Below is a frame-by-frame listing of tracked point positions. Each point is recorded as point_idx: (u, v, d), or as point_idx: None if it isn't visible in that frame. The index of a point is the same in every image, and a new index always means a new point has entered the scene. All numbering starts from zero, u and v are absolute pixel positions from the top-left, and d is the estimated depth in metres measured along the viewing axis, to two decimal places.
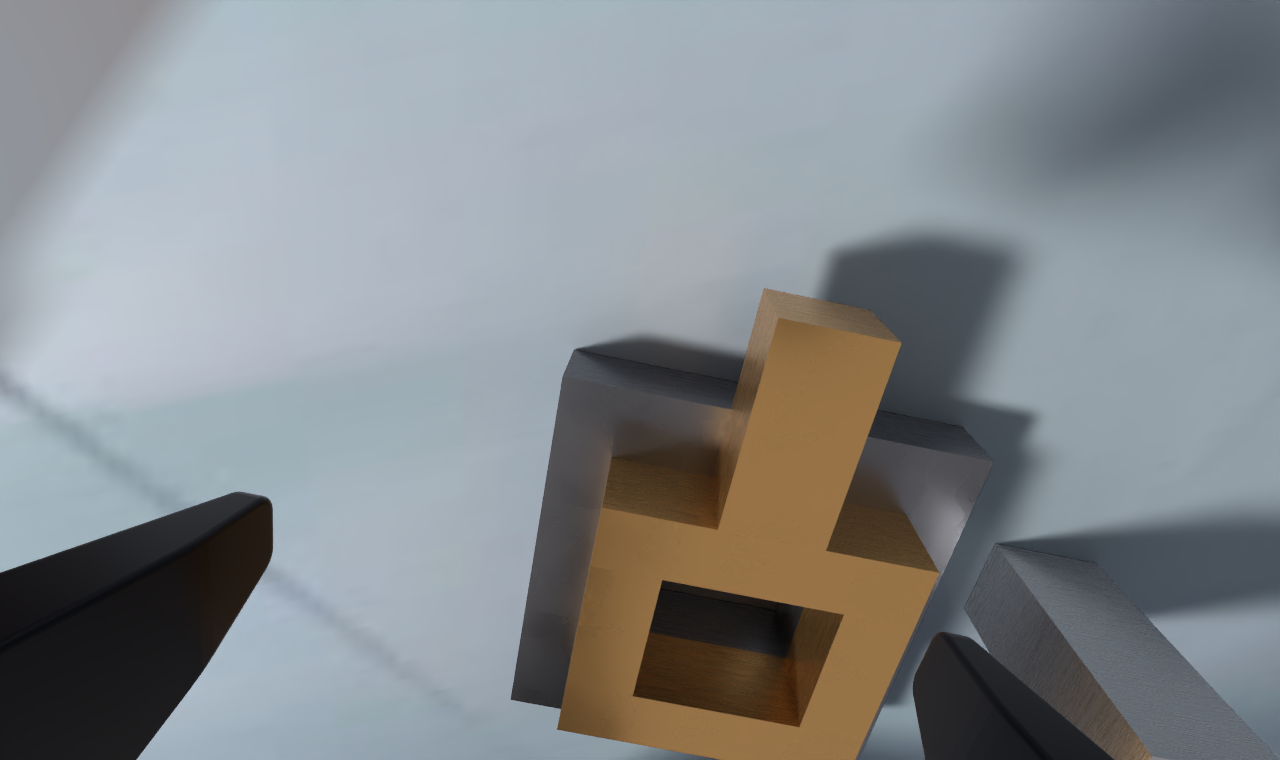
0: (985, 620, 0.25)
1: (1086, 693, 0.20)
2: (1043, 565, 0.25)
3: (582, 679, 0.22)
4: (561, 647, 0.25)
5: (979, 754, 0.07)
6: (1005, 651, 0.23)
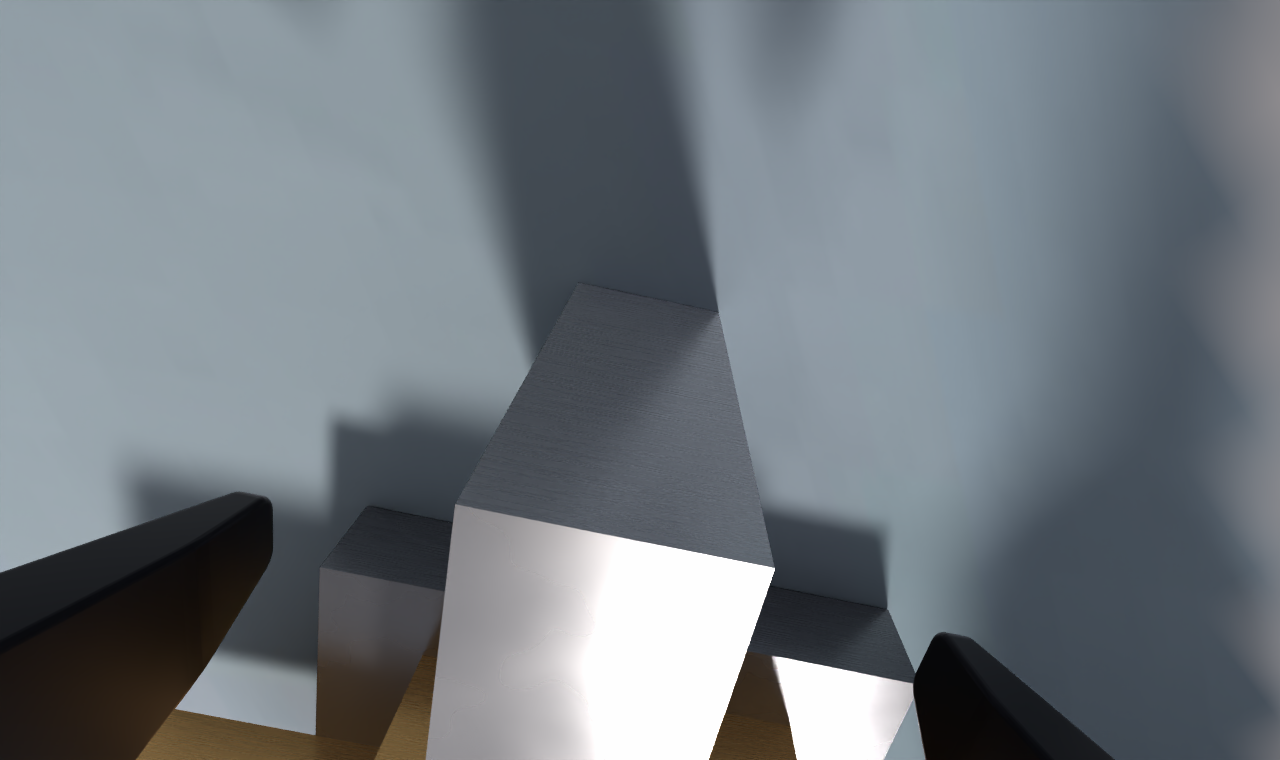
0: None
1: None
2: None
3: None
4: None
5: (979, 754, 0.07)
6: None
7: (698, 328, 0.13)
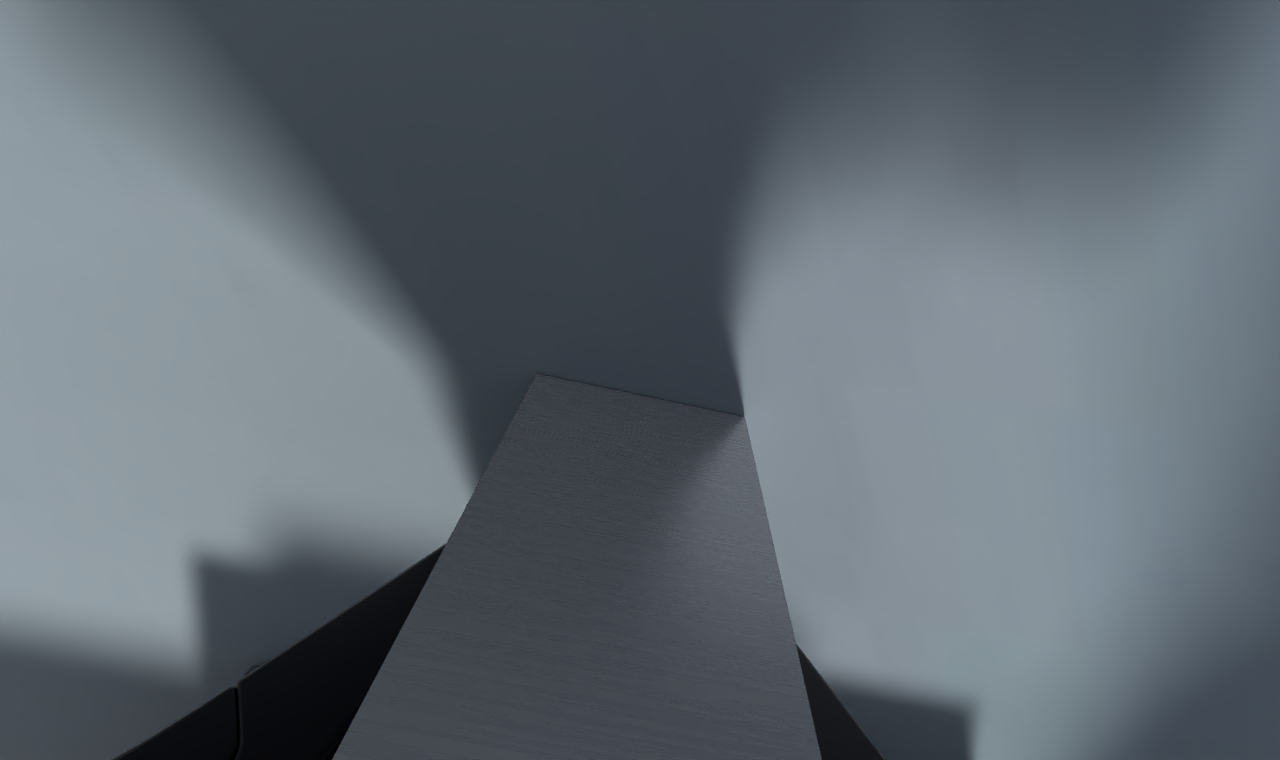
0: None
1: None
2: None
3: None
4: None
5: None
6: None
7: (716, 461, 0.09)
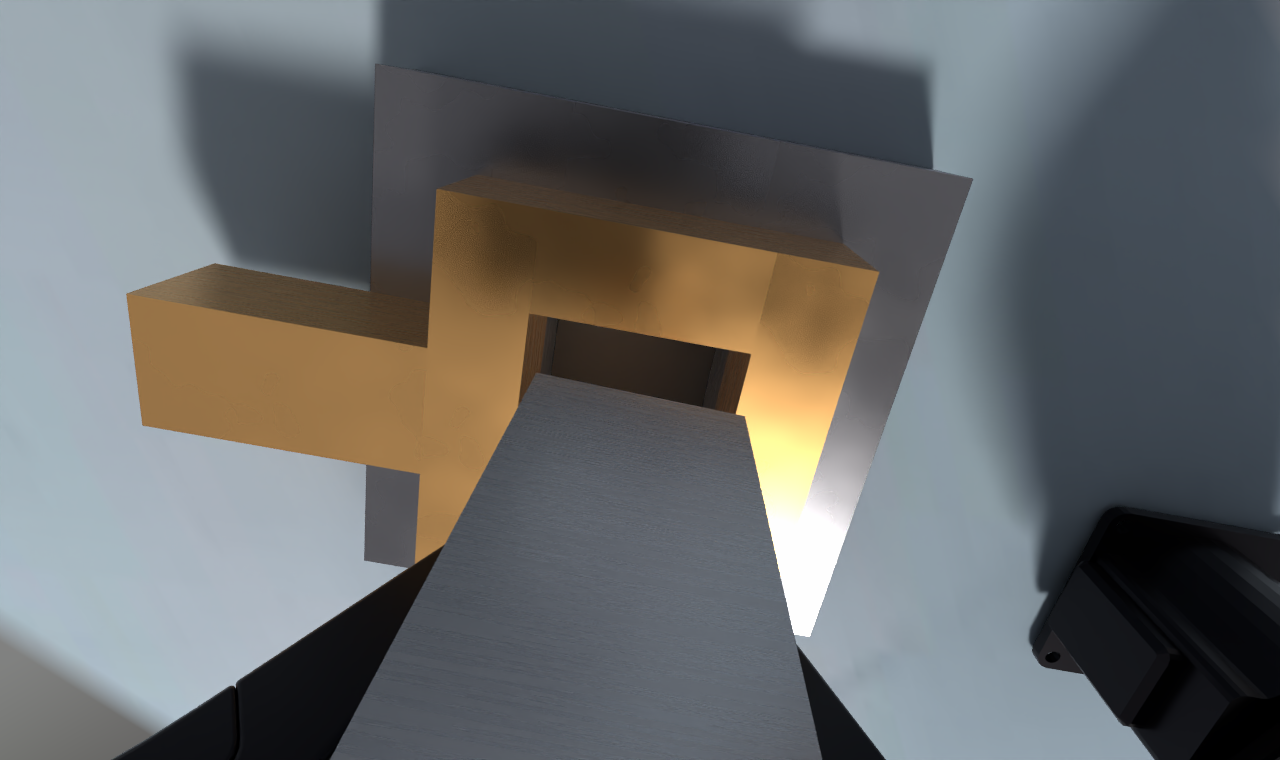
0: None
1: None
2: None
3: None
4: None
5: None
6: None
7: (717, 460, 0.09)
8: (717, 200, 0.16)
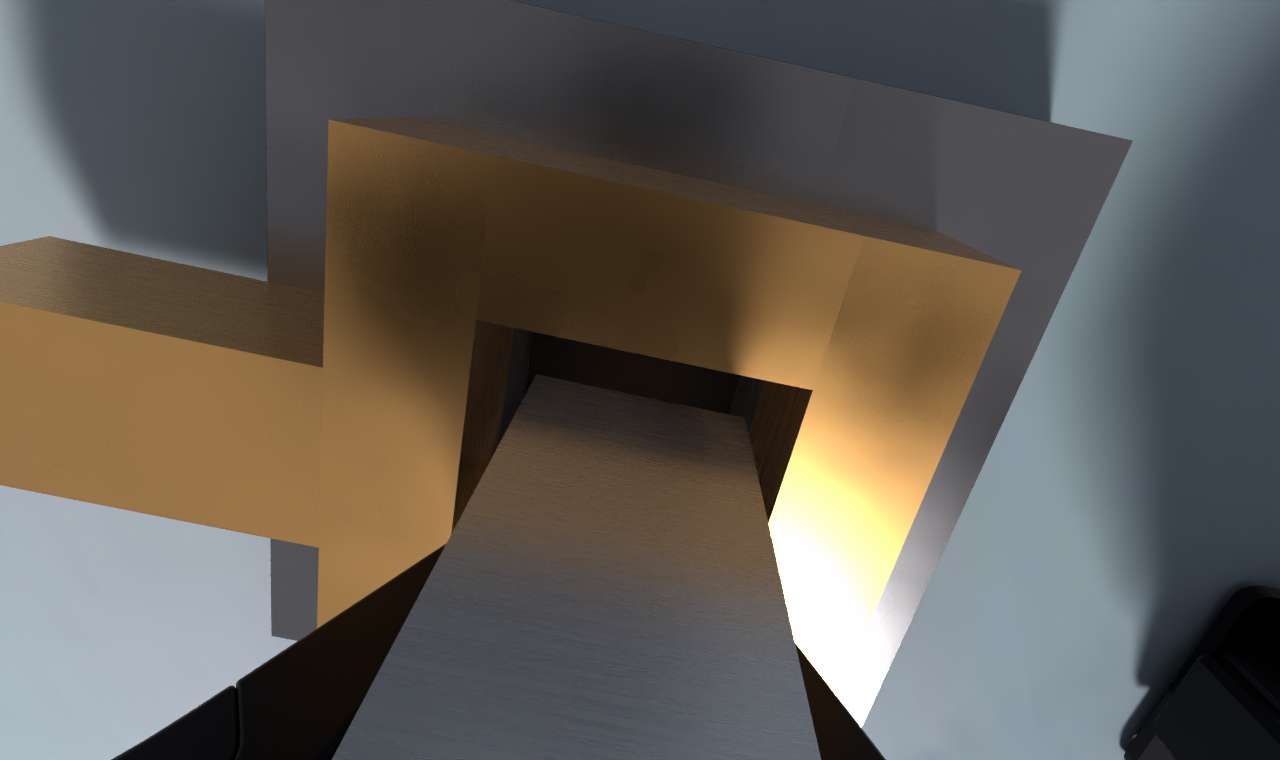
0: None
1: None
2: None
3: None
4: None
5: None
6: None
7: (716, 462, 0.09)
8: (759, 164, 0.11)
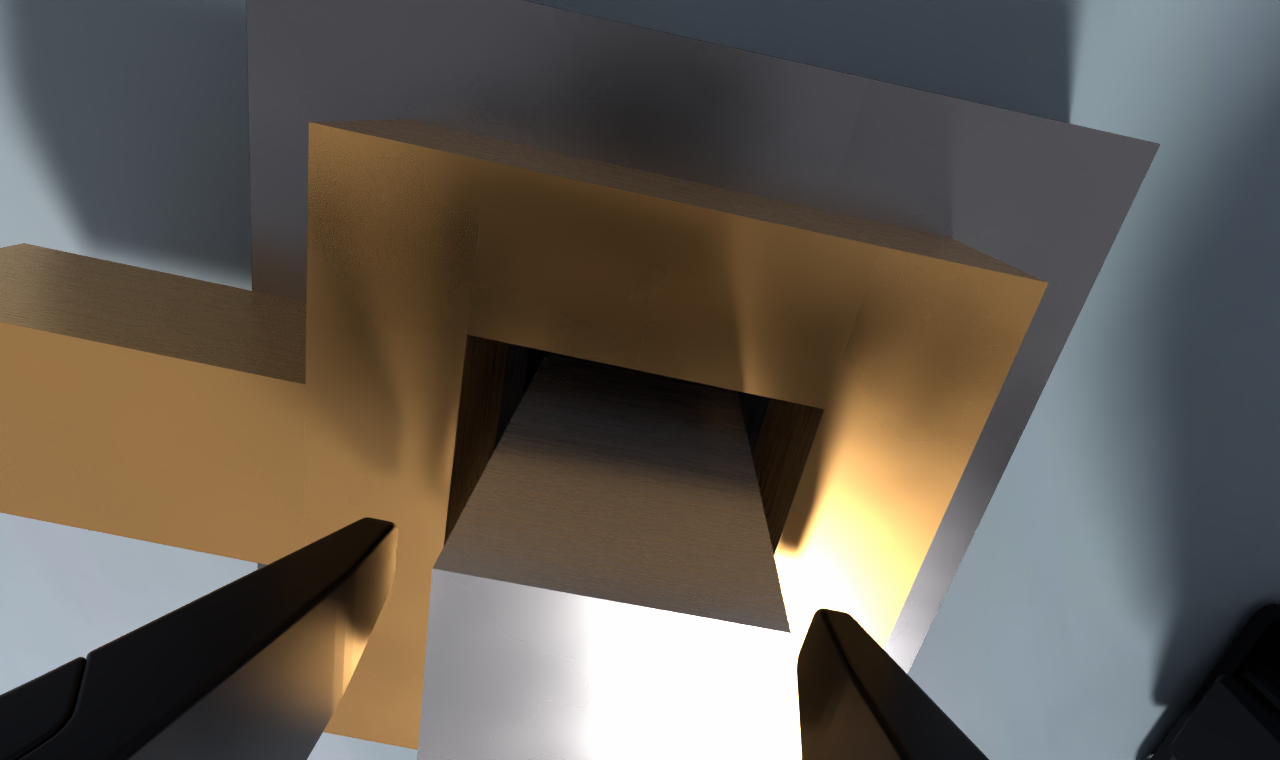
0: None
1: None
2: None
3: None
4: None
5: (836, 726, 0.07)
6: None
7: None
8: (767, 168, 0.11)
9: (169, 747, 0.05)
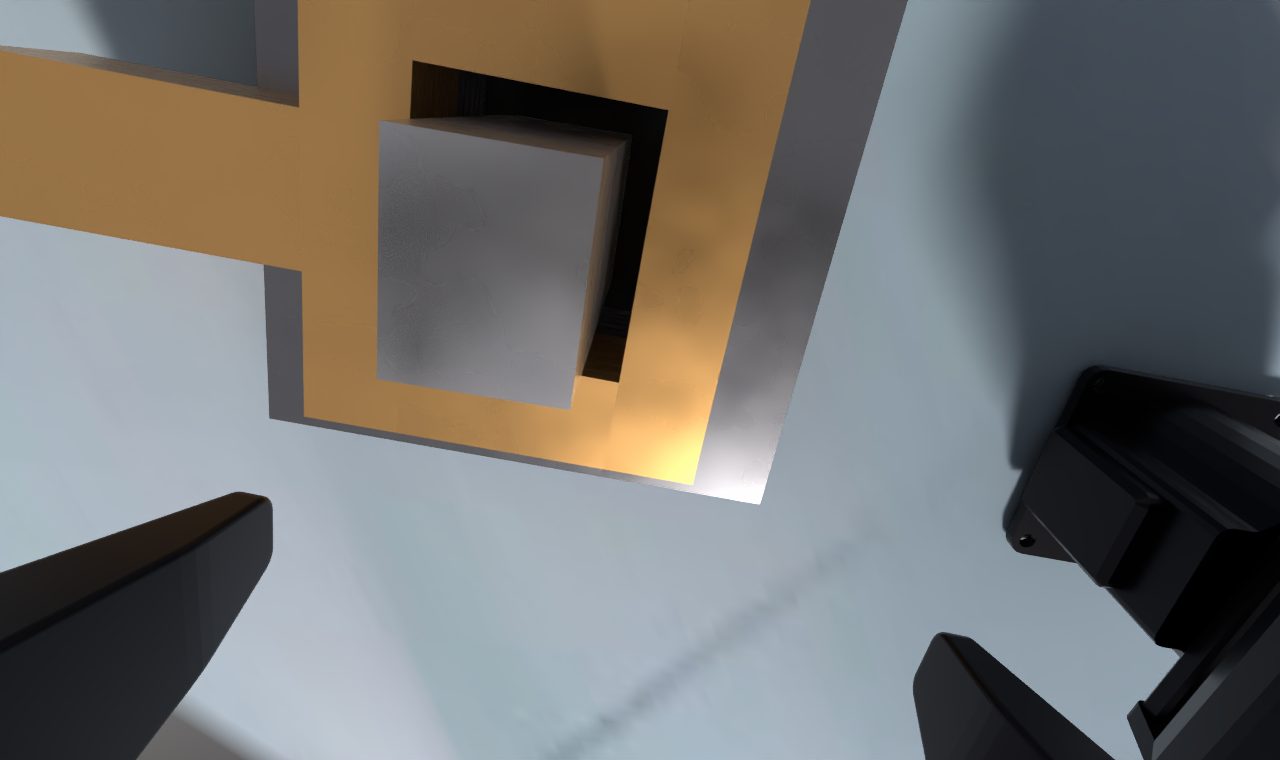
0: None
1: None
2: None
3: (593, 448, 0.15)
4: None
5: (979, 754, 0.07)
6: None
7: (608, 133, 0.16)
8: None
9: None
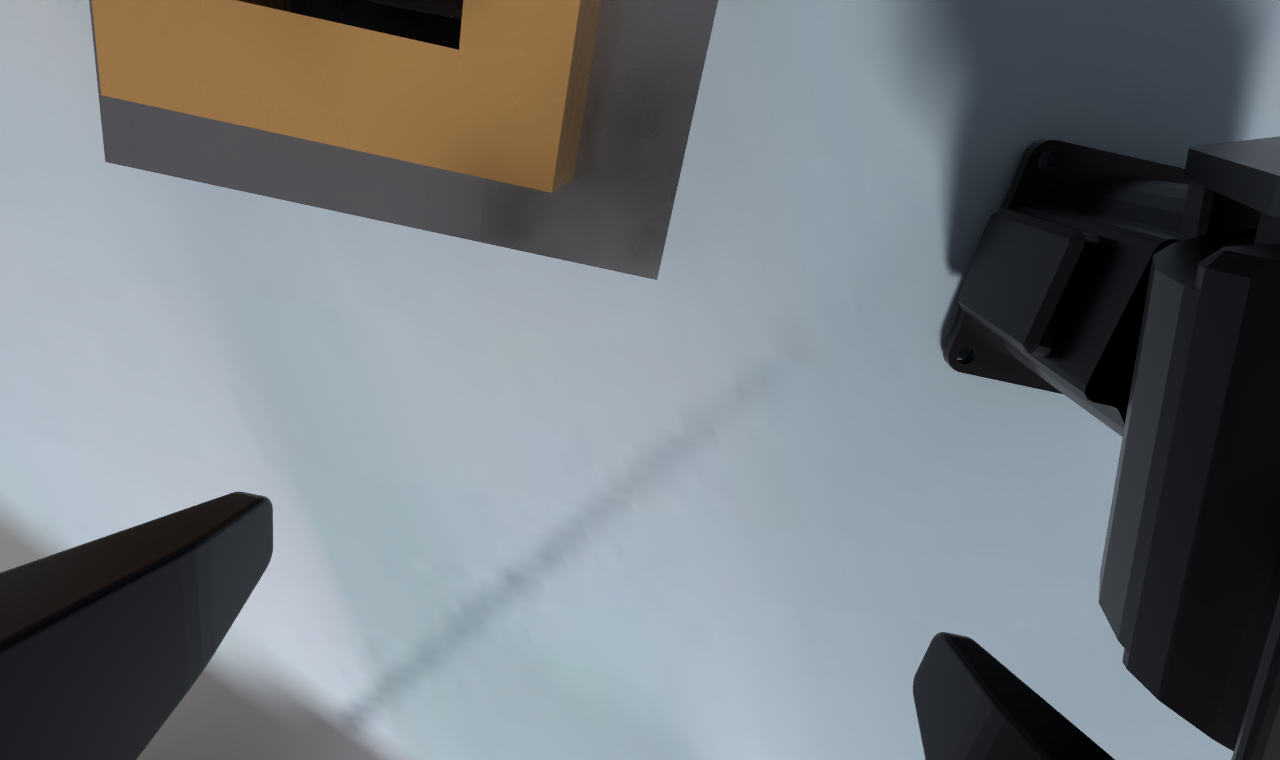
0: (457, 15, 0.16)
1: None
2: None
3: (434, 141, 0.13)
4: None
5: (979, 754, 0.07)
6: (432, 4, 0.14)
7: None
8: None
9: None
